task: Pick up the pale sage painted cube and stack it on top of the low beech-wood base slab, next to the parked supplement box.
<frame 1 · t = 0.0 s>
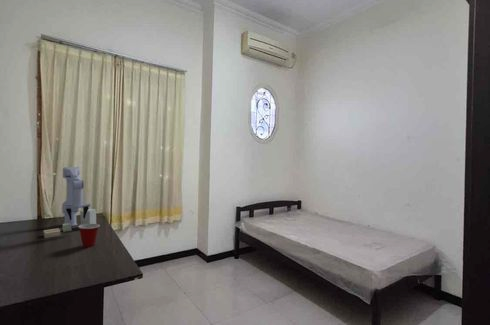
hand: (77, 218, 169), 10 cm above the table, fingers open, 7 cm apart
supplement box: (88, 227, 185), on the table
plastic cup: (89, 245, 147), on the table
beech base: (52, 235, 165), on the table
sage cube: (67, 230, 176), on the table
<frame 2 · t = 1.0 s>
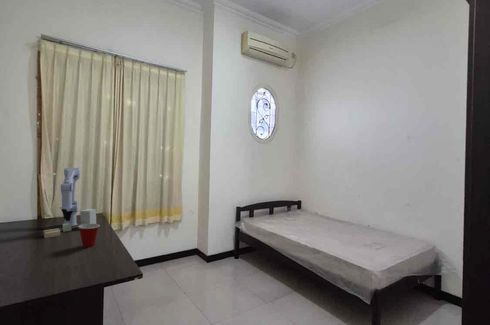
hand: (66, 219, 176), 7 cm above the table, fingers open, 7 cm apart
nothing on the table moved.
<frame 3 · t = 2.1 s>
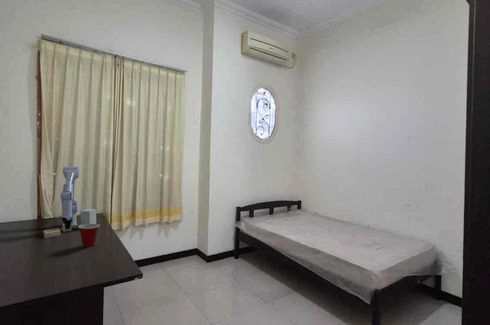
hand: (67, 228, 176), 1 cm above the table, fingers closed on sage cube, 4 cm apart
sage cube: (67, 230, 176), on the table, touching gripper
everything else where it was.
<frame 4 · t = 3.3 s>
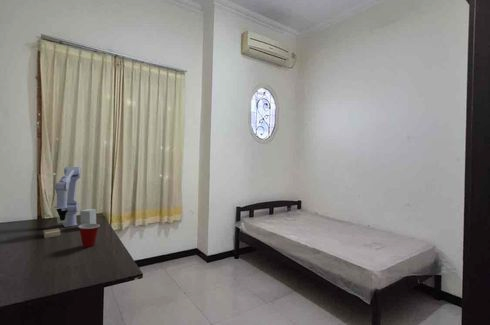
hand: (61, 219, 172), 9 cm above the table, fingers closed on sage cube, 4 cm apart
sage cube: (61, 222, 172), point 7 cm above the table, touching gripper
everything else where it was.
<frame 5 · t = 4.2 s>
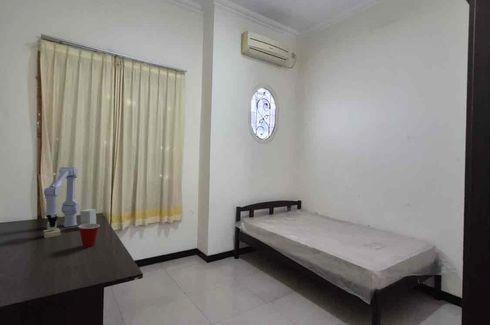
hand: (51, 226, 165), 6 cm above the table, fingers closed on sage cube, 4 cm apart
sage cube: (52, 229, 165), point 4 cm above the table, touching gripper
everything else where it was.
when the fingers open (5 cm above the table, at t = 4.8 s): sage cube stays where it is, resting on beech base.
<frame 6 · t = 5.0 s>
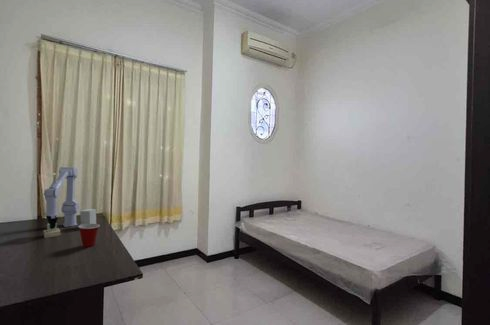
hand: (52, 227, 165), 5 cm above the table, fingers open, 6 cm apart
sage cube: (52, 230, 165), point 3 cm above the table, touching beech base
everything else where it was.
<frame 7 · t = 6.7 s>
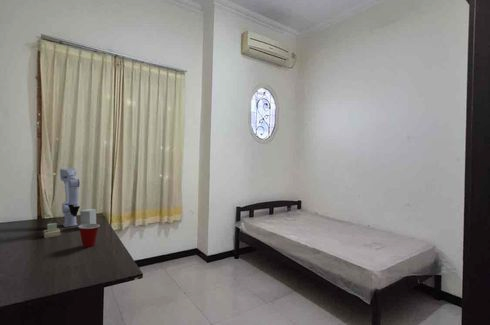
hand: (73, 215, 179), 10 cm above the table, fingers open, 7 cm apart
nothing on the table moved.
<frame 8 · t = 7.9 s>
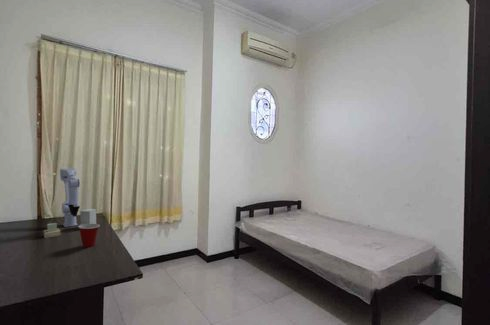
hand: (73, 215, 179), 10 cm above the table, fingers open, 7 cm apart
nothing on the table moved.
at the end: sage cube 0.1 cm off-centre on the beech base, point 3.0 cm above the beech base's base; sage cube tilted 0°; the gripper is holding nothing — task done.
